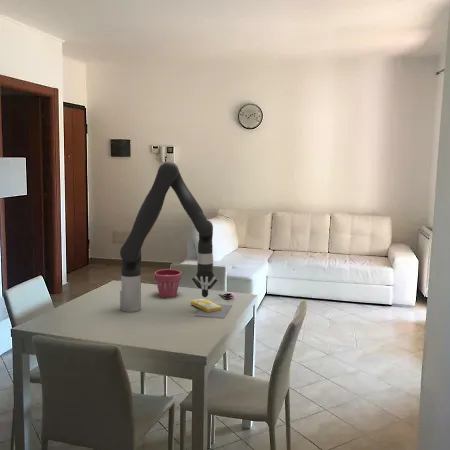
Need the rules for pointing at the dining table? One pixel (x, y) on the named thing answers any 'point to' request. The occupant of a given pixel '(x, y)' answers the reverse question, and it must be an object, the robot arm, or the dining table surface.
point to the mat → (215, 312)
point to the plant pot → (167, 282)
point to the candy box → (206, 305)
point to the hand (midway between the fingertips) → (205, 296)
